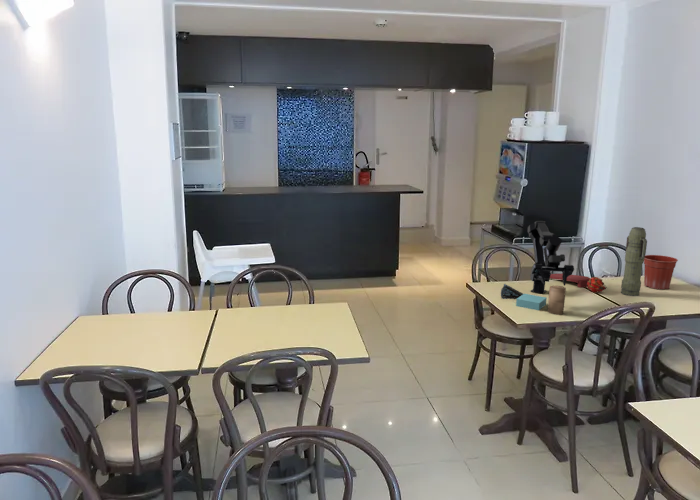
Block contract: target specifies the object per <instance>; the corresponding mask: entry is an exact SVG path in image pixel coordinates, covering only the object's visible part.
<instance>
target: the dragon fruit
mask: <svg viewBox="0 0 700 500" xmlns="http://www.w3.org/2000/svg"><path fill="white" fill-rule="evenodd" d="M589 278H590V279H589V281H588V282H587V284H586V285H588V287H587V290H588V291H590V292H592V293H594V294H598V293H602V292H604V291H605V290H607V289H608V288H607V286H606V284H605V282H603V279H602V278H599V276H592V277H589Z"/></svg>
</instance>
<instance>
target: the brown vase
mask: <svg viewBox="0 0 700 500" xmlns="http://www.w3.org/2000/svg"><path fill="white" fill-rule="evenodd" d="M566 290H567V288H566V287H565V286H564V285H563V286H562V285H554V284H553V285H550V286H549V292H548V303H547V313H549V314H551V315H555V316H557V315H559V316H560V315H564V312H565V311H564V310H565V302H566V301H565V300H566V293H567V292H566Z"/></svg>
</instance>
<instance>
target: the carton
mask: <svg viewBox="0 0 700 500" xmlns="http://www.w3.org/2000/svg"><path fill="white" fill-rule="evenodd" d="M562 275H563V274H562V273H561V272H560V273H551V275H550V279H553V280H559V281H563V278H562ZM590 278H591V277H589V276H585V275H584V276H583V275H577V274H572V275H569V276H568V277H567V280H566V282H573V283H577V288H579V289H581V288H584V289H585V288H588V285H586V284H587V282H588V281H589V279H590Z"/></svg>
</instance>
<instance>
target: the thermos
mask: <svg viewBox="0 0 700 500" xmlns="http://www.w3.org/2000/svg"><path fill="white" fill-rule="evenodd" d="M646 232H647V231H646V229H645V228H643V227H638V226H633V227H632V228H631V229H630V231H629V233H628V236H627V237H626V242H625V243H626V244H625V252H624V253H625V255H624V256H625V257H624V261H625V262H624V263H625V264H624V270H623V271H624V272H623V278H622V279H621V287H620V289H621V290H620V294H622V295H624V296H629V297H638V296H640V291H641V289H642V288H641V286H642V280H641V277H642V269H643V264H644V258H645V255H647V254H646V253H647V247H648V246H647V244H648V240H647V238H646V237H647V233H646Z"/></svg>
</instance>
